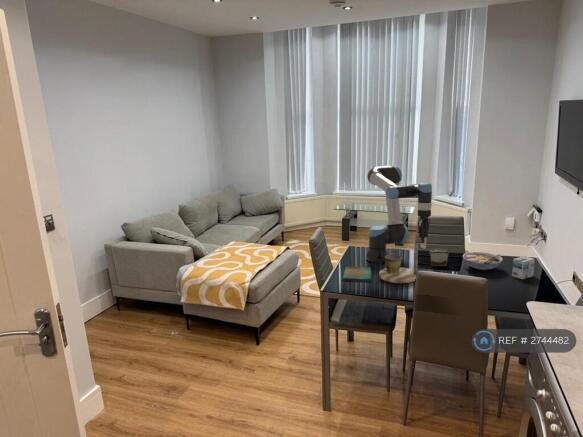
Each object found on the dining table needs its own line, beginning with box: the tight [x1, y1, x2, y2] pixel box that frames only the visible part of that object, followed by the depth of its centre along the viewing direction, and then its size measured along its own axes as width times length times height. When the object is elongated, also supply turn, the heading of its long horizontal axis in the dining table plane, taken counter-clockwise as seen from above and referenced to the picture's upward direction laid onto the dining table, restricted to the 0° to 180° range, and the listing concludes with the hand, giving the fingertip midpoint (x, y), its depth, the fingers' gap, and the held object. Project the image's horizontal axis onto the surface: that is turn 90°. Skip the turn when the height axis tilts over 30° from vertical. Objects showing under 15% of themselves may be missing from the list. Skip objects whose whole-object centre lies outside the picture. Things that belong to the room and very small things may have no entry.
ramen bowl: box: [462, 251, 503, 271], centre depth 249 cm, size 25×23×8 cm
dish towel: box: [342, 266, 372, 283], centre depth 249 cm, size 17×23×2 cm
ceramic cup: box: [384, 254, 403, 275], centre depth 239 cm, size 13×10×10 cm
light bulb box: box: [511, 255, 536, 280], centre depth 234 cm, size 11×7×11 cm, turn 118°
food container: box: [428, 248, 450, 267], centre depth 260 cm, size 12×6×10 cm, turn 84°
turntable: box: [378, 245, 419, 284], centre depth 236 cm, size 22×22×19 cm
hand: (423, 247), depth 239 cm, fingers closed
